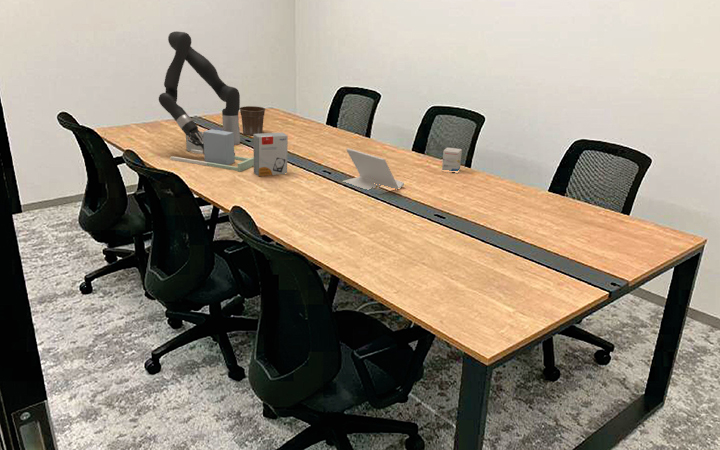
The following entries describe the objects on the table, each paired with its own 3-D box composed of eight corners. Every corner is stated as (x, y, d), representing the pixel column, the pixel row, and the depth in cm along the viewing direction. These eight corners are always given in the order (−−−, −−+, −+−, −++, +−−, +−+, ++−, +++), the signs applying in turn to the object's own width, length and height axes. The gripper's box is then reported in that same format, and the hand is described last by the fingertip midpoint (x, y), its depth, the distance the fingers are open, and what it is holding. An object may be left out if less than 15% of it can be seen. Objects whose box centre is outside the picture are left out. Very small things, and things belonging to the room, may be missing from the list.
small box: (203, 149, 331) (202, 131, 327) (200, 152, 326) (199, 133, 322) (190, 148, 331) (189, 130, 328) (186, 151, 326) (185, 132, 322)
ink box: (460, 170, 314) (462, 148, 310) (457, 174, 307) (459, 152, 302) (444, 167, 317) (446, 146, 312) (441, 171, 309) (443, 150, 305)
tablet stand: (378, 195, 268) (380, 159, 262) (341, 182, 285) (342, 148, 278) (404, 188, 280) (407, 153, 274) (367, 176, 297) (369, 143, 290)
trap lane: (199, 149, 330) (198, 142, 329) (266, 160, 316) (266, 153, 314) (169, 160, 308) (169, 152, 306) (240, 171, 293) (239, 164, 292)
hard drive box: (258, 177, 287) (257, 137, 279) (253, 172, 293) (252, 133, 286) (287, 174, 293) (287, 135, 286) (282, 170, 300) (282, 131, 292)
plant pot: (271, 133, 375) (270, 108, 369) (254, 137, 363) (253, 111, 357) (252, 129, 383) (251, 105, 377) (234, 133, 370) (233, 108, 365)
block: (212, 158, 314) (211, 129, 308) (234, 162, 309) (233, 132, 303) (204, 161, 308) (202, 131, 302) (227, 165, 303) (225, 135, 297)
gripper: (182, 122, 301) (203, 148, 302) (198, 118, 313) (218, 143, 313) (175, 131, 305) (195, 157, 305) (191, 126, 316) (210, 151, 317)
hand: (207, 150), depth 309 cm, fingers closed
